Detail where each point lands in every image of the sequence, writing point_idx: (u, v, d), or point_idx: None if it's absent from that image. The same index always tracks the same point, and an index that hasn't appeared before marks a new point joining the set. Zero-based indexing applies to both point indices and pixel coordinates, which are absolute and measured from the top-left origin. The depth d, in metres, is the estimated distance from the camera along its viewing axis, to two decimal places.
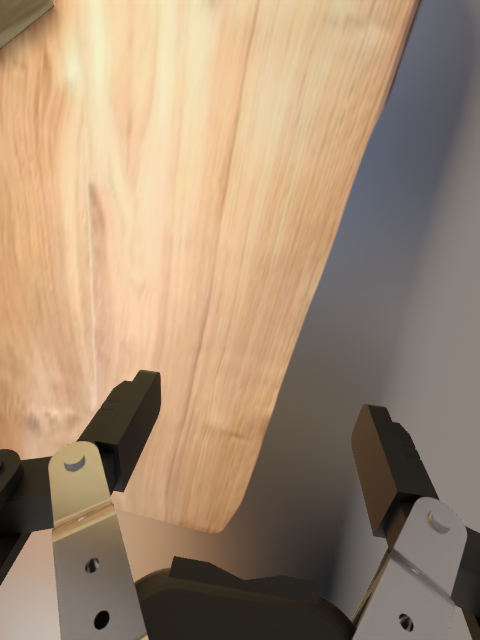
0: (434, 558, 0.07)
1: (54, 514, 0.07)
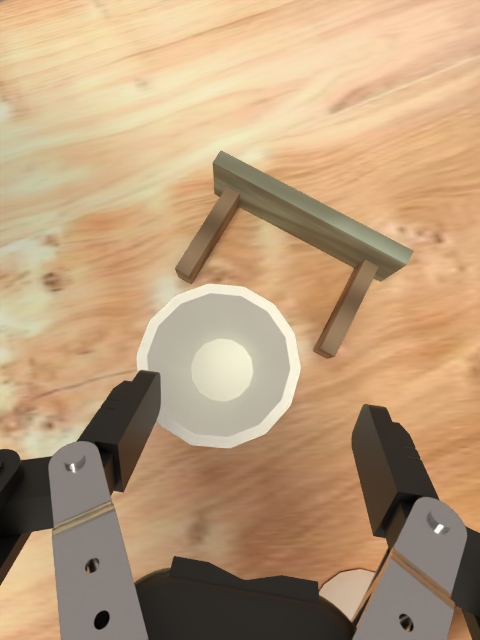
0: (434, 558, 0.07)
1: (55, 514, 0.07)
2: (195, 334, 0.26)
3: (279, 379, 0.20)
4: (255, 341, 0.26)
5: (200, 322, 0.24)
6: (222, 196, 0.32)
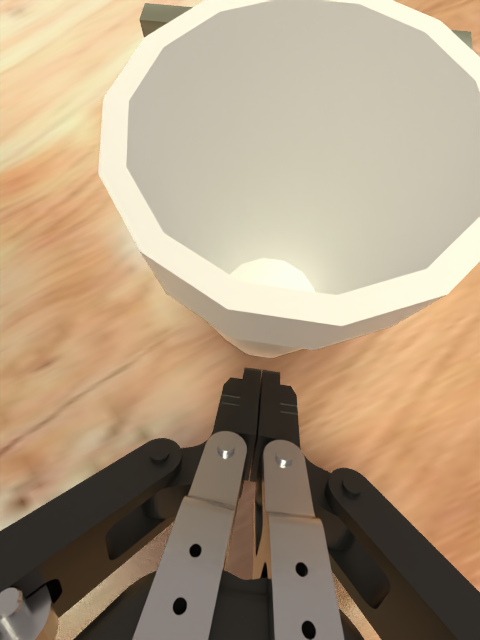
0: (293, 492, 0.08)
1: (193, 483, 0.08)
2: (210, 233, 0.15)
3: (432, 162, 0.09)
4: (313, 204, 0.15)
5: (213, 183, 0.13)
6: None
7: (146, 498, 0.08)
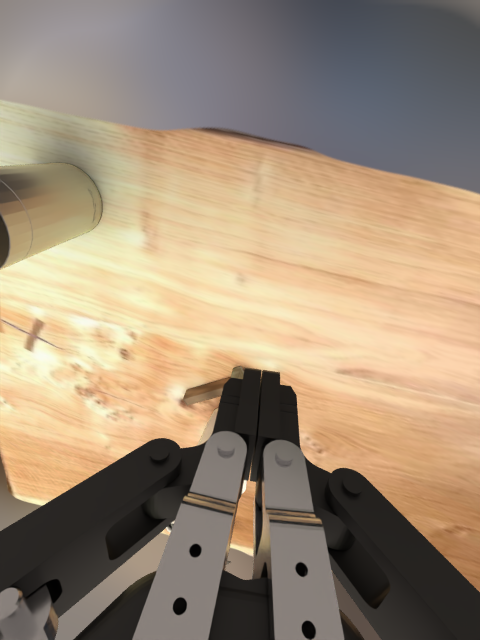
0: (293, 491, 0.08)
1: (193, 483, 0.08)
2: None
3: None
4: None
5: None
6: None
7: (146, 498, 0.08)
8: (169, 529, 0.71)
